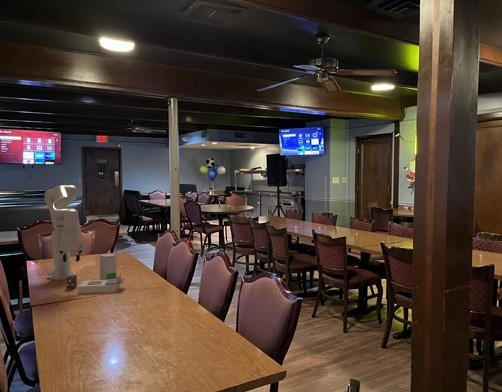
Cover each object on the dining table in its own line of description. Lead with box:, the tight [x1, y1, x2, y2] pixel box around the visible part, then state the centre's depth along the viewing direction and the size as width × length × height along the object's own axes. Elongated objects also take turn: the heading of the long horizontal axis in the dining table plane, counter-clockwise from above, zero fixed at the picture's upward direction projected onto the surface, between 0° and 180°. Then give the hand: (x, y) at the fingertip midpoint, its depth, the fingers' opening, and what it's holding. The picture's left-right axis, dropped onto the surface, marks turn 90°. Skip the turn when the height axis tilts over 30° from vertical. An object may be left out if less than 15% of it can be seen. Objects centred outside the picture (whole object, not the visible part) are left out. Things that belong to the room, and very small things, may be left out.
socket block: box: [77, 279, 121, 295], centre depth 221 cm, size 20×12×4 cm, turn 99°
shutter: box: [105, 272, 126, 285], centre depth 222 cm, size 9×10×4 cm
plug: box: [66, 274, 78, 290], centre depth 224 cm, size 4×6×7 cm, turn 8°
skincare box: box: [99, 253, 118, 280], centre depth 243 cm, size 8×7×16 cm
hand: (71, 261), depth 224 cm, fingers open, 6 cm apart
